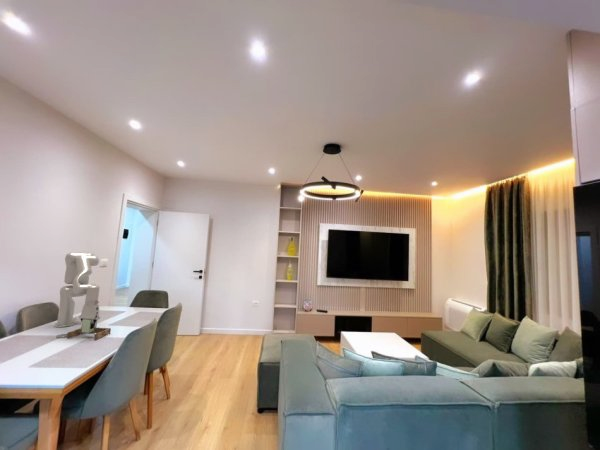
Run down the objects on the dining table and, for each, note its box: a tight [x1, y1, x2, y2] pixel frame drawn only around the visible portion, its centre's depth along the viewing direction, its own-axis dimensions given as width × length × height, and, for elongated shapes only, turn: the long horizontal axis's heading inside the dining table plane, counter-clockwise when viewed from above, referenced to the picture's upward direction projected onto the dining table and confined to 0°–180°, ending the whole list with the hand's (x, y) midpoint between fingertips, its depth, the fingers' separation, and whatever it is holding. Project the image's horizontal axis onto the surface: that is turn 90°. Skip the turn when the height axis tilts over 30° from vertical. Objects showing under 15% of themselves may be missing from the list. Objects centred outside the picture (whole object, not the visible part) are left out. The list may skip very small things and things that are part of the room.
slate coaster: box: [55, 333, 67, 339], centre depth 198 cm, size 8×8×1 cm
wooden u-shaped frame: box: [66, 327, 112, 341], centre depth 201 cm, size 15×20×4 cm
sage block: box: [81, 319, 94, 334], centre depth 200 cm, size 5×5×9 cm
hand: (88, 327), depth 200 cm, fingers closed on sage block, 5 cm apart
